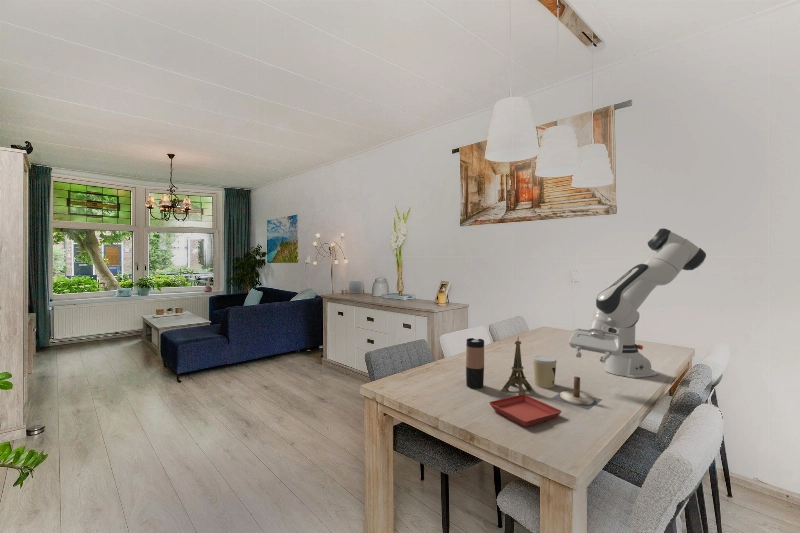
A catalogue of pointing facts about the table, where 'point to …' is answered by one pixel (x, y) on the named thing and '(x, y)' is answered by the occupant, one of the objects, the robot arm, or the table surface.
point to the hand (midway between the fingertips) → (589, 359)
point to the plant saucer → (525, 409)
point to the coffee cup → (544, 371)
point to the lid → (576, 395)
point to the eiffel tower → (517, 370)
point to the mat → (575, 404)
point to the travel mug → (474, 363)
